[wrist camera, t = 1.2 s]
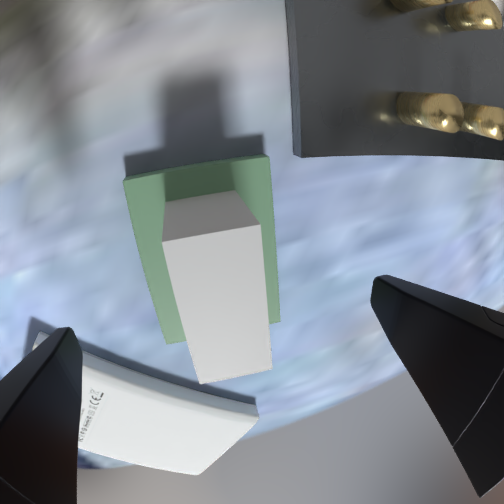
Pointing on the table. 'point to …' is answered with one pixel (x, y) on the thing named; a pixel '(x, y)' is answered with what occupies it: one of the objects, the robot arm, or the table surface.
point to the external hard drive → (155, 418)
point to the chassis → (397, 78)
